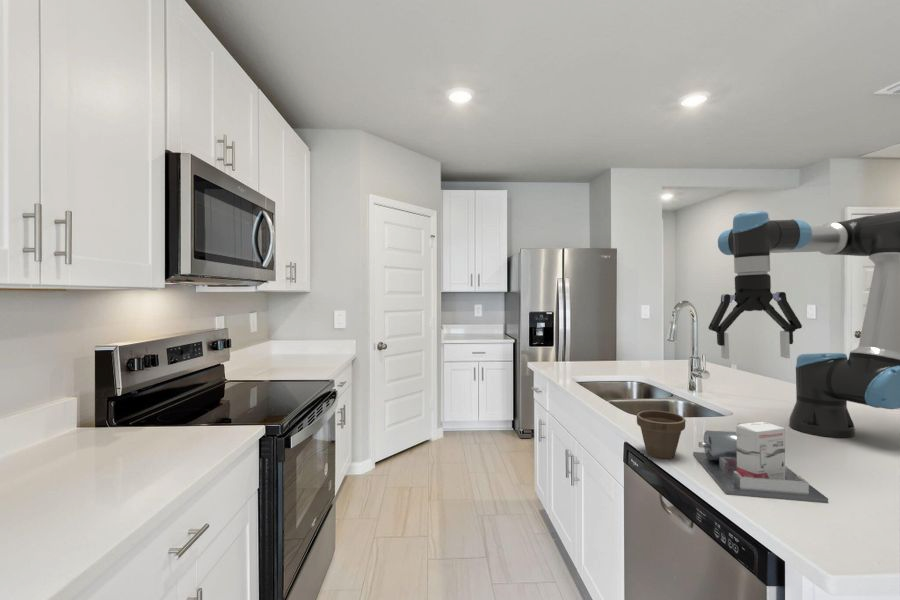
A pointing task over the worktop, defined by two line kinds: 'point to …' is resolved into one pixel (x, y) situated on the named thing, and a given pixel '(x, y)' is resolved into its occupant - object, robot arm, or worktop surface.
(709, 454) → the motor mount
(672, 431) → the flower pot
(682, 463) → the worktop surface
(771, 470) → the ink box
